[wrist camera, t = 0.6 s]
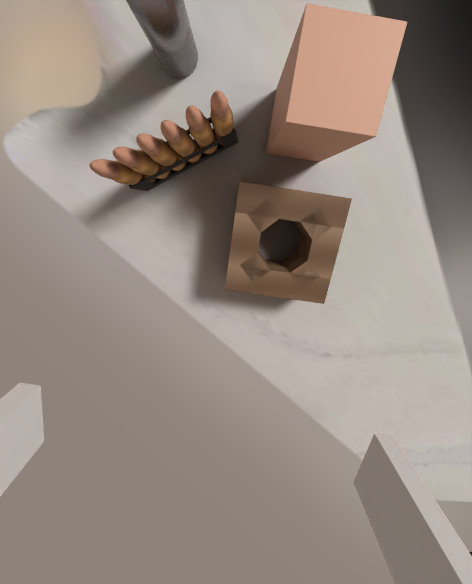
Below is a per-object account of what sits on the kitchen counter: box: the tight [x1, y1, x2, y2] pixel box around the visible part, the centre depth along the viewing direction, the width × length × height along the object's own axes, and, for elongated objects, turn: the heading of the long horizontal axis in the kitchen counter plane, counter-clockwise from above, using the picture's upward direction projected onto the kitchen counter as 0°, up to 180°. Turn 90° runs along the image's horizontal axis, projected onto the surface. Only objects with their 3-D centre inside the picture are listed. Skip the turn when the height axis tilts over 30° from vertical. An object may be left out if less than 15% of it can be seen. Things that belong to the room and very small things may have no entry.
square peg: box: [266, 4, 407, 162], centre depth 21 cm, size 6×6×12 cm
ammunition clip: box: [90, 91, 238, 191], centre depth 22 cm, size 11×2×12 cm, turn 115°
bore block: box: [225, 181, 352, 304], centre depth 28 cm, size 10×10×5 cm
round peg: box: [126, 0, 198, 78], centre depth 19 cm, size 3×3×12 cm
